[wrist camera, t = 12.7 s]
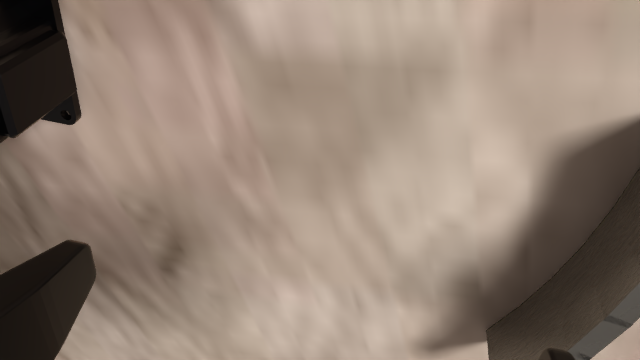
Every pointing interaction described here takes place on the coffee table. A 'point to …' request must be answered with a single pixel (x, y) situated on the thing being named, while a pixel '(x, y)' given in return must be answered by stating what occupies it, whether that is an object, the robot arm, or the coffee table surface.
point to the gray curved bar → (581, 294)
